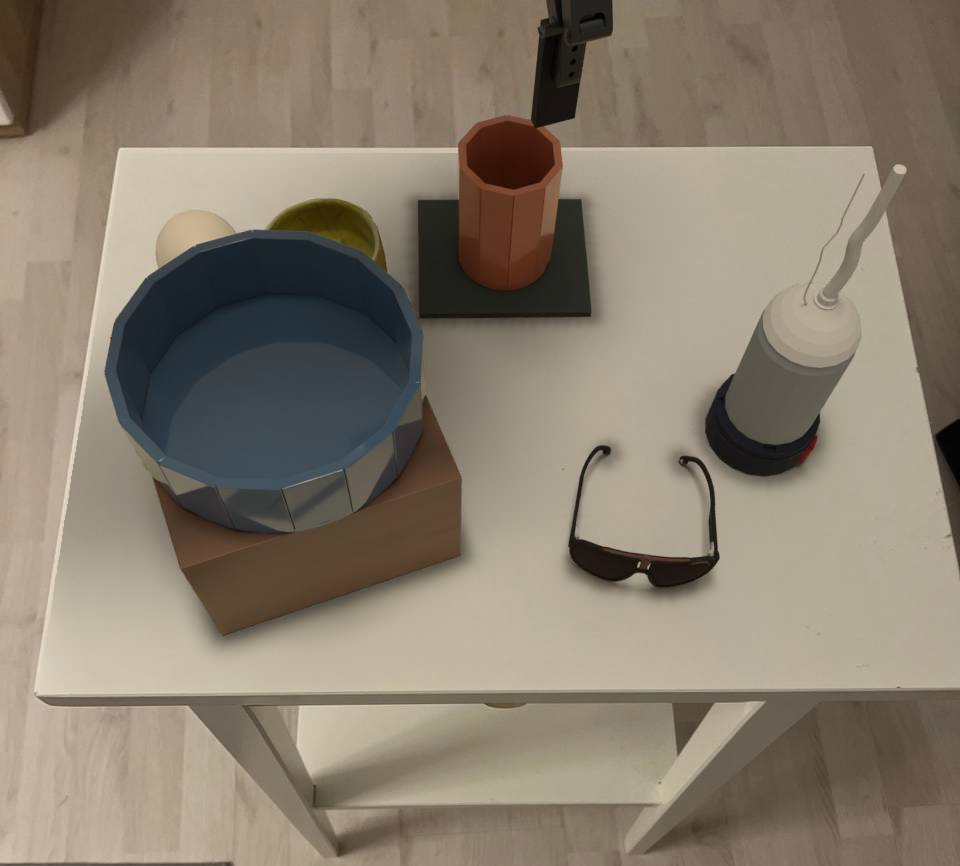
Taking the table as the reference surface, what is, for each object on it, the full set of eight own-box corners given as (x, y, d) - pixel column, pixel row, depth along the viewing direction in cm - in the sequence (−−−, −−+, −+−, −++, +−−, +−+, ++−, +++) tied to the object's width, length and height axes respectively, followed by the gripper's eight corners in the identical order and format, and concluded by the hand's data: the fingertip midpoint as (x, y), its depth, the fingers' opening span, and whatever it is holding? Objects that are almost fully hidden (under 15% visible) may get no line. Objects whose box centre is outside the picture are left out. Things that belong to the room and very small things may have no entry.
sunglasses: (561, 586, 69) (569, 548, 64) (573, 458, 75) (582, 414, 70) (706, 605, 69) (724, 568, 64) (708, 475, 74) (725, 432, 70)
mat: (419, 317, 77) (419, 313, 77) (418, 204, 82) (417, 199, 81) (590, 316, 78) (591, 312, 77) (580, 203, 82) (581, 198, 82)
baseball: (250, 246, 79) (232, 182, 73) (255, 317, 77) (238, 256, 71) (167, 255, 79) (143, 190, 73) (171, 326, 76) (145, 266, 70)
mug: (408, 238, 78) (373, 174, 68) (407, 362, 77) (372, 315, 67) (266, 250, 80) (212, 189, 70) (265, 371, 79) (210, 326, 70)
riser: (158, 430, 73) (109, 336, 63) (380, 363, 76) (369, 263, 65) (222, 635, 67) (180, 569, 57) (460, 555, 70) (462, 478, 60)
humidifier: (818, 474, 73) (989, 225, 50) (712, 477, 73) (834, 229, 49) (800, 385, 76) (953, 110, 53) (698, 388, 76) (807, 113, 52)
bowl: (105, 335, 63) (75, 276, 58) (371, 260, 65) (364, 198, 60) (177, 573, 57) (150, 531, 52) (466, 479, 59) (467, 431, 54)
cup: (443, 233, 80) (441, 131, 70) (530, 208, 81) (540, 105, 72) (475, 302, 77) (478, 205, 68) (565, 275, 79) (580, 177, 69)
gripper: (747, -259, 39) (644, 169, 58) (518, -549, 47) (496, -86, 67) (578, -227, 37) (531, 199, 57) (373, -530, 45) (394, -64, 65)
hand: (512, 46), depth 62 cm, fingers open, 13 cm apart
